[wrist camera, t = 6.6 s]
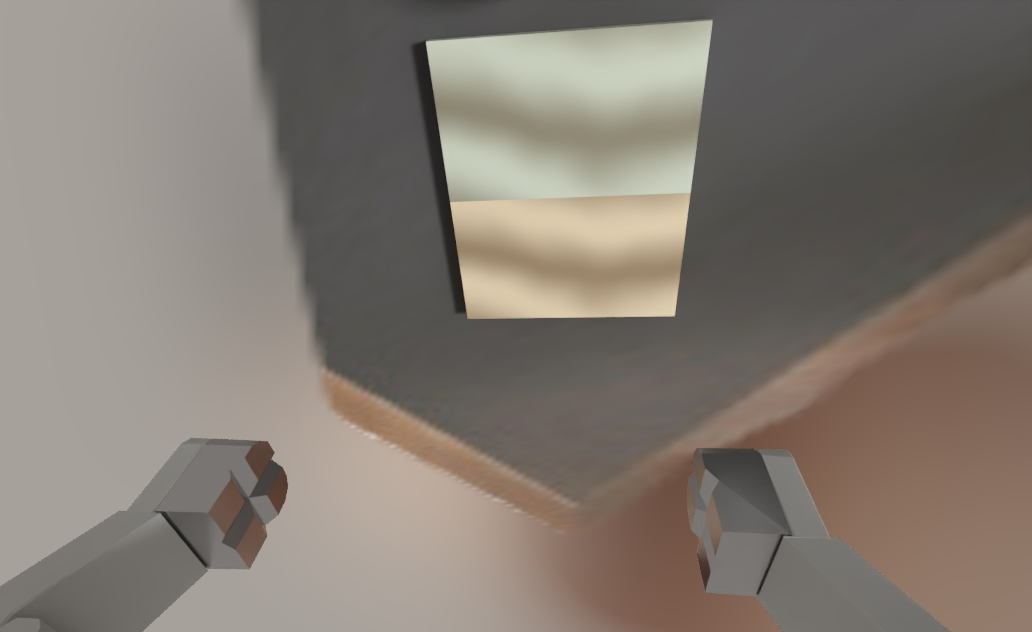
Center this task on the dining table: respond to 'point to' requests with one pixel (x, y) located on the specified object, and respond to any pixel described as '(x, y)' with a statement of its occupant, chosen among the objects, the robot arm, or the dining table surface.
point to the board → (571, 165)
